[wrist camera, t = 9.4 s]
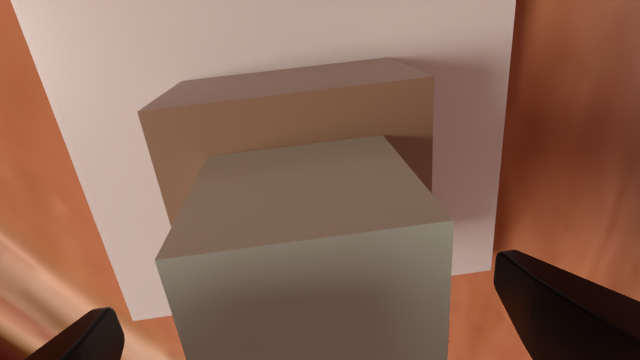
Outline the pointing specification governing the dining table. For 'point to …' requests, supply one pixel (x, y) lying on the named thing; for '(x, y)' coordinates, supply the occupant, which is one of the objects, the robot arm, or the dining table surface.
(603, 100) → the dining table surface
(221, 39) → the build board
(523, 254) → the robot arm
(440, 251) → the sage block
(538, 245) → the dining table surface
